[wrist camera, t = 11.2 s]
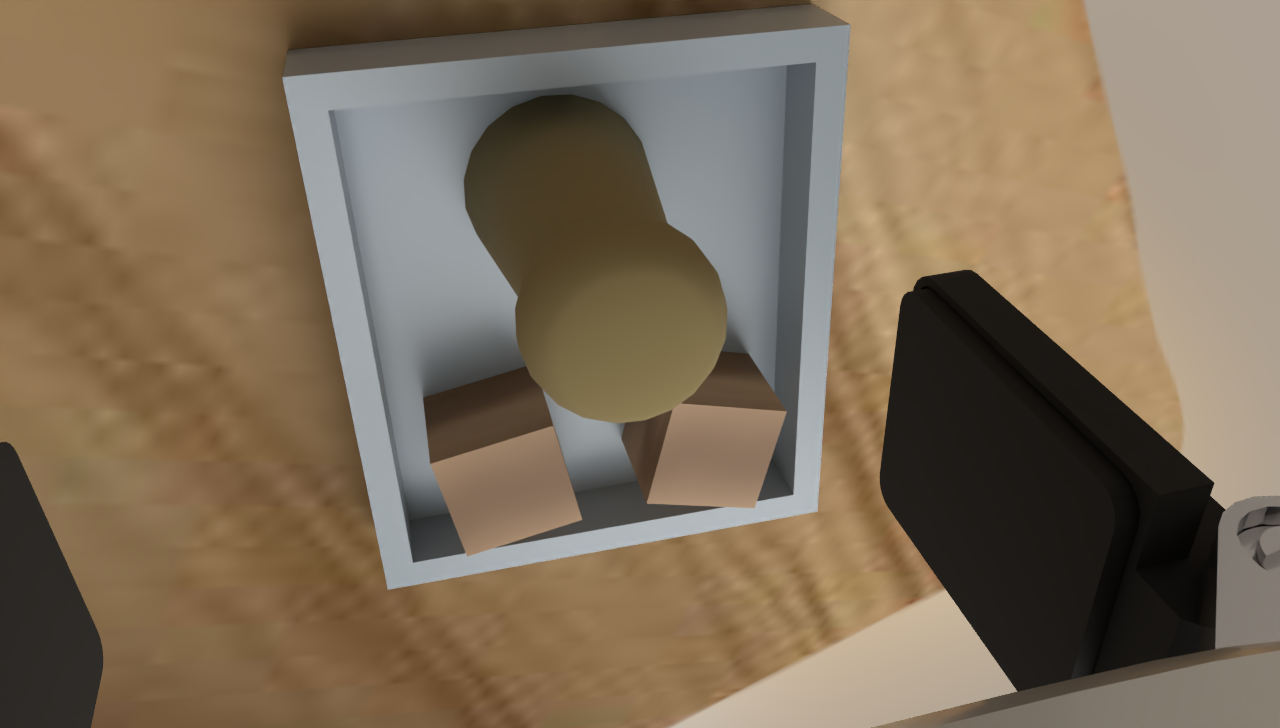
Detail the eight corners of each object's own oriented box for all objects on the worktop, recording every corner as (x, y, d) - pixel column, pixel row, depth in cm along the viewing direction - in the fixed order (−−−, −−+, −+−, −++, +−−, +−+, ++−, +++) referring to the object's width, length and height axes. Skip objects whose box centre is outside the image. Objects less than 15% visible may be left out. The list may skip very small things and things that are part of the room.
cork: (425, 155, 32) (456, 320, 23) (599, 57, 32) (700, 183, 23) (522, 305, 35) (583, 502, 26) (680, 217, 35) (798, 384, 26)
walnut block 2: (645, 344, 37) (674, 403, 34) (748, 353, 38) (786, 411, 35) (621, 438, 39) (646, 503, 36) (720, 445, 40) (754, 508, 37)
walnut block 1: (422, 397, 36) (430, 463, 33) (534, 363, 36) (553, 425, 33) (457, 486, 38) (467, 556, 35) (562, 452, 39) (582, 519, 35)
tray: (287, 50, 30) (281, 77, 28) (812, 4, 33) (850, 24, 31) (385, 535, 39) (387, 589, 37) (789, 466, 42) (817, 511, 40)
